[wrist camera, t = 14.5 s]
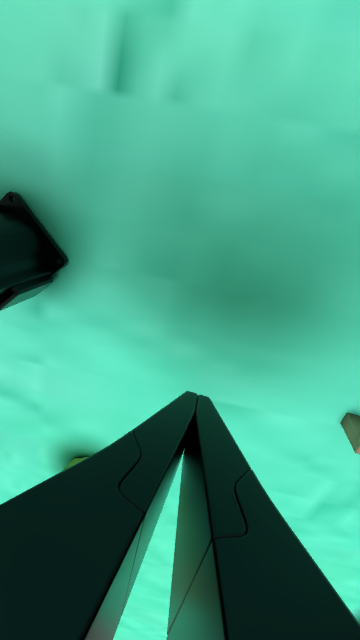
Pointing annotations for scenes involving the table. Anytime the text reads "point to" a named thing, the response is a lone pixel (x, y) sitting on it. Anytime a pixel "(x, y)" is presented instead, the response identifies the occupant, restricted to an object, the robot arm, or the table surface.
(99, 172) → the table surface
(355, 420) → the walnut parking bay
